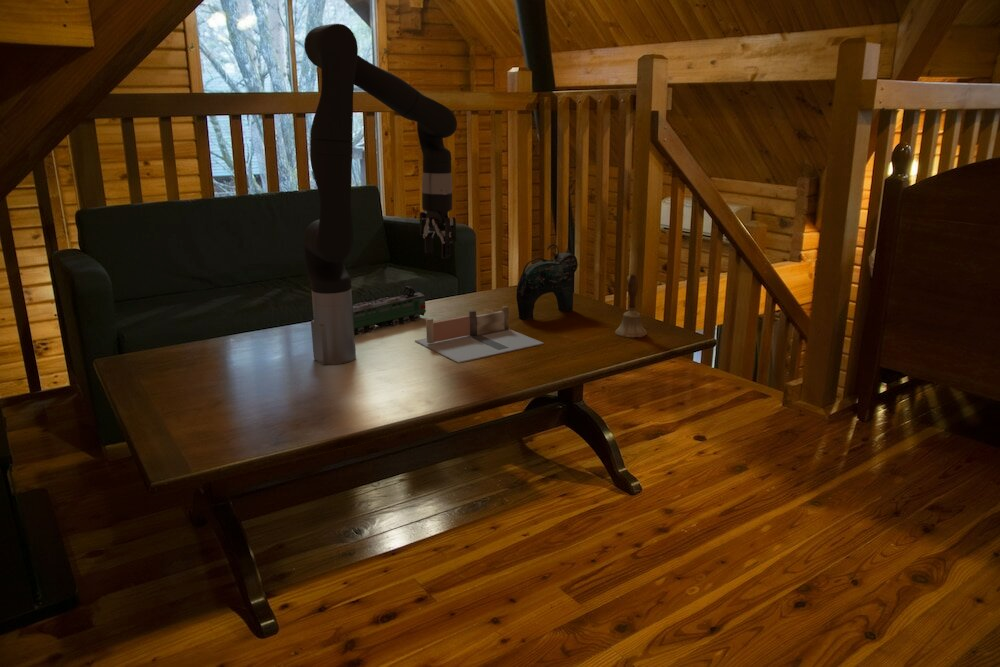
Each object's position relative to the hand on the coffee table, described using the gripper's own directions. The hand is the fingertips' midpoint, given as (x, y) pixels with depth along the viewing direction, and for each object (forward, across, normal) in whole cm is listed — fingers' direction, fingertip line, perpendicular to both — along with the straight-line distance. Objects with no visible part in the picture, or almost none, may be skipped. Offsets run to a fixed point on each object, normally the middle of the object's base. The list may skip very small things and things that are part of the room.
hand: (437, 255), depth 199 cm
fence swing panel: (+21, +5, 0) cm, 21 cm away
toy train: (+22, -17, -8) cm, 29 cm away
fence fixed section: (+21, +5, +13) cm, 25 cm away
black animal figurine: (+21, -1, +37) cm, 43 cm away
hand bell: (+20, +27, +43) cm, 55 cm away
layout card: (+21, +11, +6) cm, 25 cm away
